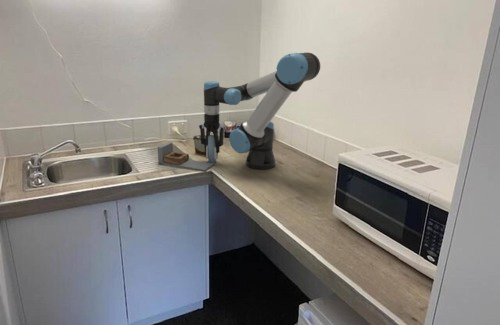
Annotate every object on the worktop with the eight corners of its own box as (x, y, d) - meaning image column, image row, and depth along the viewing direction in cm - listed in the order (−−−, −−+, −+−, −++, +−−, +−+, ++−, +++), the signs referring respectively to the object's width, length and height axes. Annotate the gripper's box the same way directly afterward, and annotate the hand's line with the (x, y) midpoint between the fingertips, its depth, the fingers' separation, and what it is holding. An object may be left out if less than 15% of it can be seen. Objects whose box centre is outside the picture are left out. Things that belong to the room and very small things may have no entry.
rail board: (169, 158, 199) (168, 141, 196) (213, 165, 191) (213, 148, 188) (158, 164, 190) (157, 147, 187) (204, 171, 182) (204, 154, 179)
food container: (217, 154, 207) (217, 137, 204) (211, 157, 202) (210, 139, 199) (200, 150, 213) (200, 133, 210) (193, 153, 208) (192, 136, 205)
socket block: (173, 157, 197) (173, 151, 196) (188, 159, 194) (188, 153, 194) (164, 162, 189) (163, 156, 188) (179, 164, 187) (179, 159, 186)
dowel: (210, 160, 198) (210, 134, 193) (217, 161, 196) (217, 135, 192) (207, 162, 194) (206, 136, 190) (214, 163, 193) (213, 137, 188)
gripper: (192, 113, 186) (194, 158, 194) (224, 116, 181) (224, 162, 188) (200, 110, 193) (200, 154, 201) (230, 113, 187) (230, 158, 195)
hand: (212, 158), depth 195 cm, fingers closed on dowel, 4 cm apart
